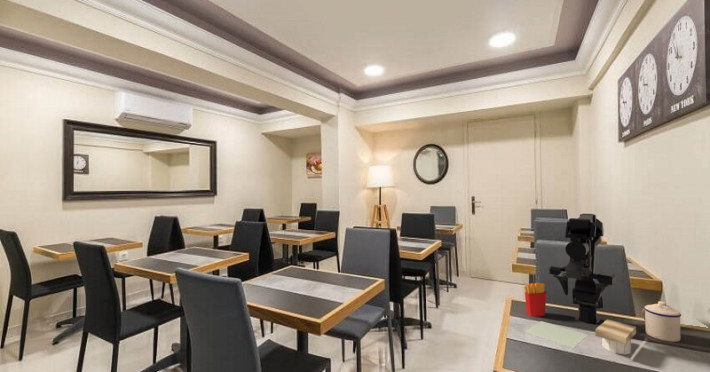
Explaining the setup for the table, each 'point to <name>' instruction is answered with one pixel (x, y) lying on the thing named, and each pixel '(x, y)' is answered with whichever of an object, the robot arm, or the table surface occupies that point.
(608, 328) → the beige flat block
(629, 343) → the bowl
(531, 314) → the french fries
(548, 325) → the mat
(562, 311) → the table surface
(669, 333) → the teacup with lid
